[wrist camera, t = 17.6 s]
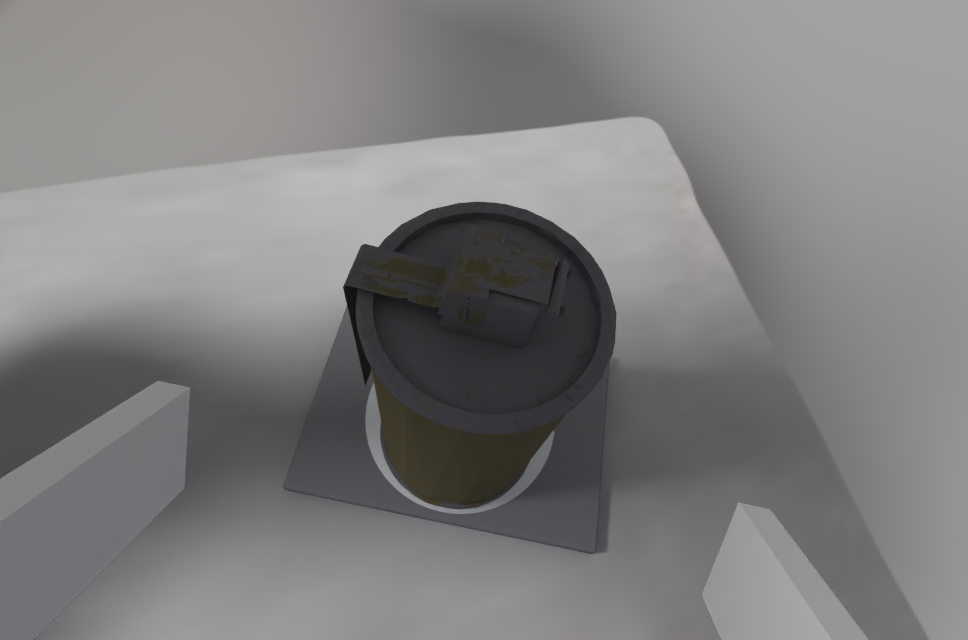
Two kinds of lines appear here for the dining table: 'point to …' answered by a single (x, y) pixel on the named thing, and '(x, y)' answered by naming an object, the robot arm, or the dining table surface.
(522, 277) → the canister
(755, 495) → the dining table surface
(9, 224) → the dining table surface
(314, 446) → the circle mat
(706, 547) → the dining table surface
